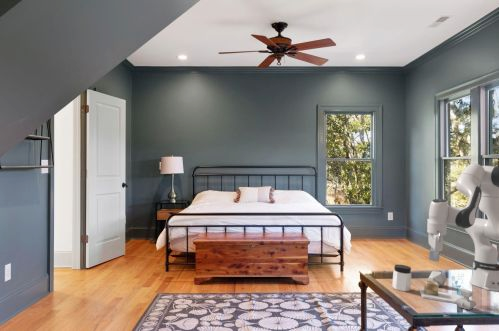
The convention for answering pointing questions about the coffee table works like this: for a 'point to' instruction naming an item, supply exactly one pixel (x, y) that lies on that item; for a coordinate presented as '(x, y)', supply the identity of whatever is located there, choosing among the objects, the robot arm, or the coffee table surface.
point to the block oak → (431, 288)
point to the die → (438, 278)
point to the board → (441, 296)
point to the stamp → (466, 300)
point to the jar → (402, 278)
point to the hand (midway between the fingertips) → (434, 256)
